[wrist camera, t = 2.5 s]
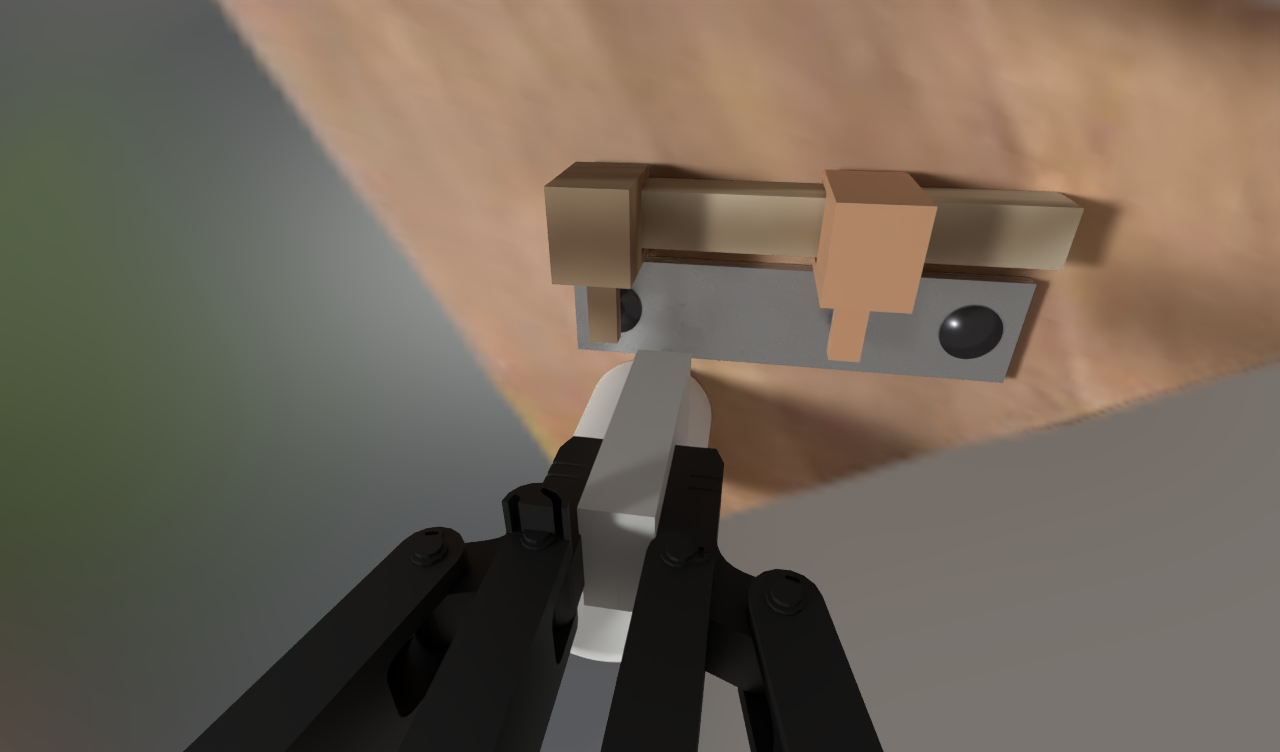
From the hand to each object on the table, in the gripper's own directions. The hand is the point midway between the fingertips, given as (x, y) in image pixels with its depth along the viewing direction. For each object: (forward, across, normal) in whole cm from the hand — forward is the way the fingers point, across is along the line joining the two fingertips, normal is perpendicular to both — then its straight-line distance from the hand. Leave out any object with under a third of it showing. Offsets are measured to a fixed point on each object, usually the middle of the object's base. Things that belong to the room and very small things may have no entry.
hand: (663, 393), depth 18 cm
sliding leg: (+19, +8, -2) cm, 20 cm away
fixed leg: (+19, -5, -2) cm, 19 cm away
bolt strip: (+19, +4, -6) cm, 21 cm away
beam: (+19, +5, 0) cm, 20 cm away
